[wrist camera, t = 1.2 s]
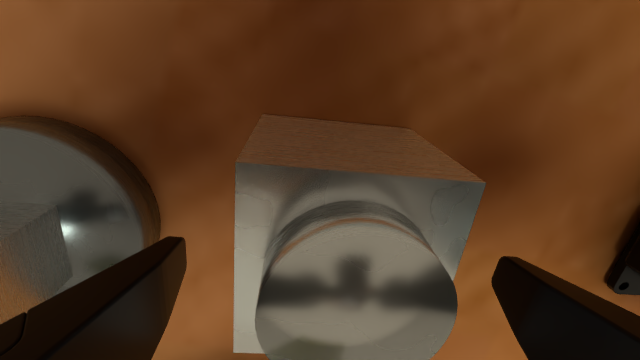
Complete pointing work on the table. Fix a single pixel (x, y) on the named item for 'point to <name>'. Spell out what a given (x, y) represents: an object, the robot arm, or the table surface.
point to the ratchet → (65, 209)
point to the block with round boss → (347, 241)
